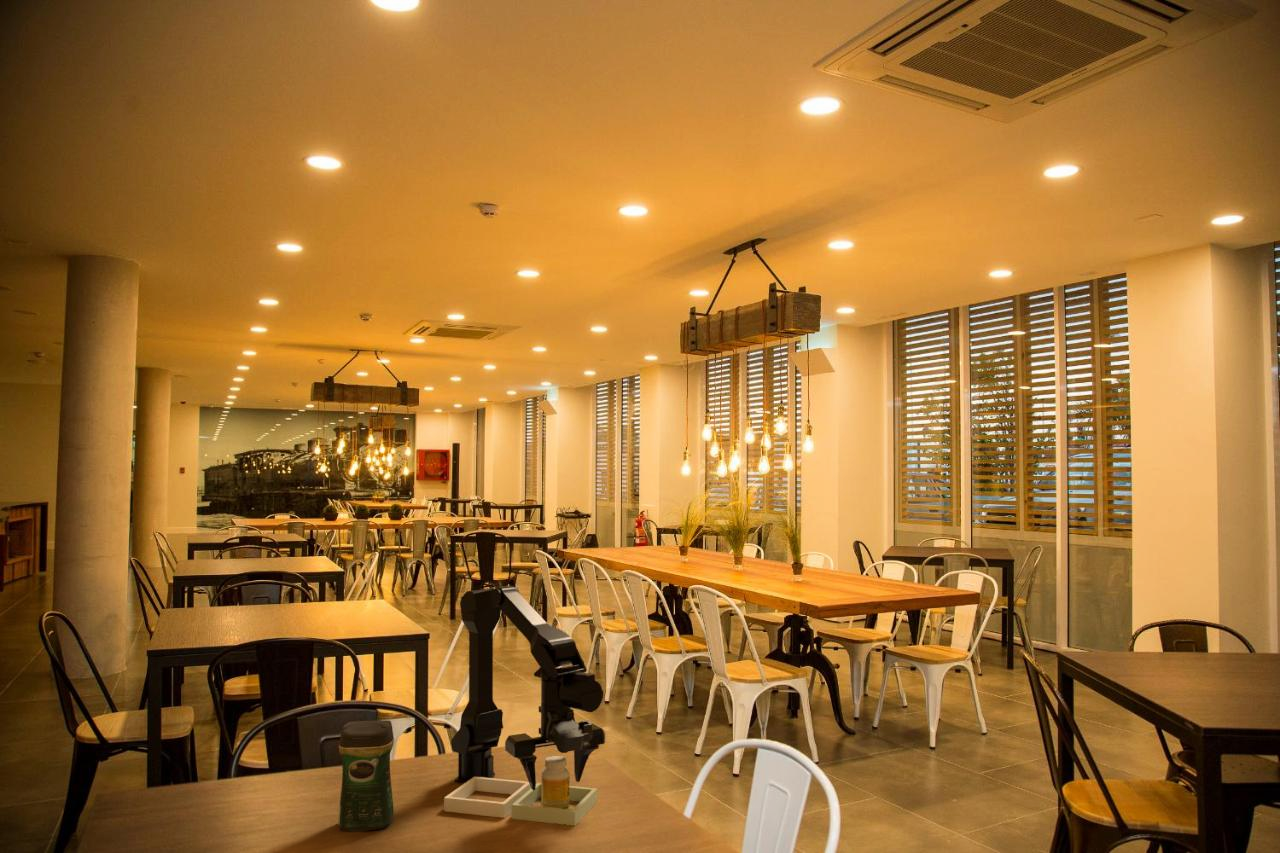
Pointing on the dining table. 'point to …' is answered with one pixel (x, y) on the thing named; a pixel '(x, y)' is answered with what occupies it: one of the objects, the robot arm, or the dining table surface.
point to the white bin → (482, 807)
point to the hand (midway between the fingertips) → (555, 785)
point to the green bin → (554, 815)
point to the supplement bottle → (555, 783)
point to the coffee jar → (366, 775)
